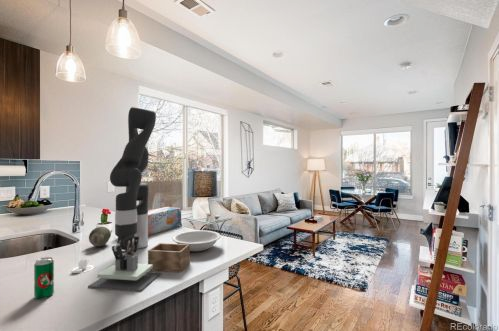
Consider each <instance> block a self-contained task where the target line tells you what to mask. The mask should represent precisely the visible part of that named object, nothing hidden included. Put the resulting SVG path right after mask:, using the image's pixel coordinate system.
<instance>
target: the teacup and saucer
mask: <svg viewBox="0 0 499 331" xmlns="http://www.w3.org/2000/svg"><path fill="white" fill-rule="evenodd" d="M89 262H90V261H89V259H88V258H82V259H79V260H78V263H77V264H78V266H77V267H74V268H73V269H72V268H71V271H70V272H71V273H73V274H81V273H86V272H89V271H91V270H94V268H95V266H94V265H92V264H88V263H89ZM87 267H90V268H89V269H87ZM86 269H87V270H86ZM83 270H85V271H83Z"/></svg>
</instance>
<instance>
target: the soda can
mask: <svg viewBox="0 0 499 331" xmlns="http://www.w3.org/2000/svg"><path fill="white" fill-rule="evenodd" d="M54 265H55V260H54V259H53V257H52V256H51V257H50V256H47V257H40V258H38V259H36V260H35V263H34V265H33V272H34V273H33V282H34V284H33V285H34V286H33V287H34V289H33V294H34V295H33V297H34V298H35V299H37V300H42V299H43V300H44V299H47V298H49V297H50V296H53V294H54V293H55V292H54V291H55V266H54Z"/></svg>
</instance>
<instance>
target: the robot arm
mask: <svg viewBox="0 0 499 331" xmlns="http://www.w3.org/2000/svg"><path fill="white" fill-rule="evenodd" d="M156 119H157V115H156V112H155V111H154V110H152V109H148V108H143V107H138V106H131V107H130V109H129V111H128V117H127V124H128V142H127V144H126V145H125V147H124V150H123V153H122V156H121V158H120V159H119V161H117V163H116V165H115V166H114V167H113V168H112V170H111V172H110V175H109V181H110V184H111V185H112V186H114V187H117V188H119V187H120V188H123V187H124V188H125V192H121V193H118V194H117V195H116V196H115V214H114V234H115V236H116V237H117V241H116V244H115V245H112V246H111V251H112V253H113V256H114V259H116V260H120V269H121V270H126V269H127V254H131V255H135V253H137V250H138V249H143V248H146V247H148V246H149V235H148V210H149V185H148V184H147V182H146V183H145V182H142V177H143V175H142V173H143V172H144V171H145V170H146V168H147V167H148V165H149V156H150V154H149V151H148V148H147V144H148V142H149V139H150V138H151V135H152V134H153V130H154V129H155V126H156ZM139 130H142V131H141V132H140V133H139ZM138 201H139V202H140V203H137V202H138ZM123 254H124V256H123ZM118 255H119V256H118Z"/></svg>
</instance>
